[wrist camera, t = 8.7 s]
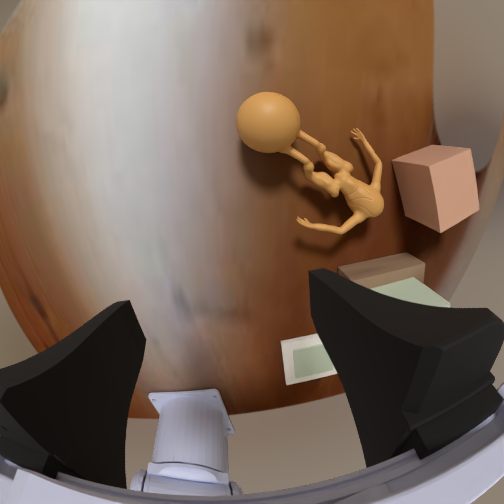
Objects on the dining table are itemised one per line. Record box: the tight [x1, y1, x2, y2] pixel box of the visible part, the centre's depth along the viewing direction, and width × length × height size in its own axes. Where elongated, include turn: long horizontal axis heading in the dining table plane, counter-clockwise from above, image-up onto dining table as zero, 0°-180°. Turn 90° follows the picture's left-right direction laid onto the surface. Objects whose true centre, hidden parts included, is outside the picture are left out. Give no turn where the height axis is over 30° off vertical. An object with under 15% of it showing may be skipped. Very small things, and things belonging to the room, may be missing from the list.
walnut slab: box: [338, 252, 425, 289], centre depth 22 cm, size 7×7×3 cm
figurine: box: [236, 92, 384, 234], centre depth 17 cm, size 8×6×12 cm
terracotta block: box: [391, 145, 479, 233], centre depth 17 cm, size 5×5×5 cm
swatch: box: [281, 334, 337, 385], centre depth 25 cm, size 6×6×1 cm
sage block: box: [371, 277, 450, 308], centre depth 18 cm, size 5×5×5 cm
